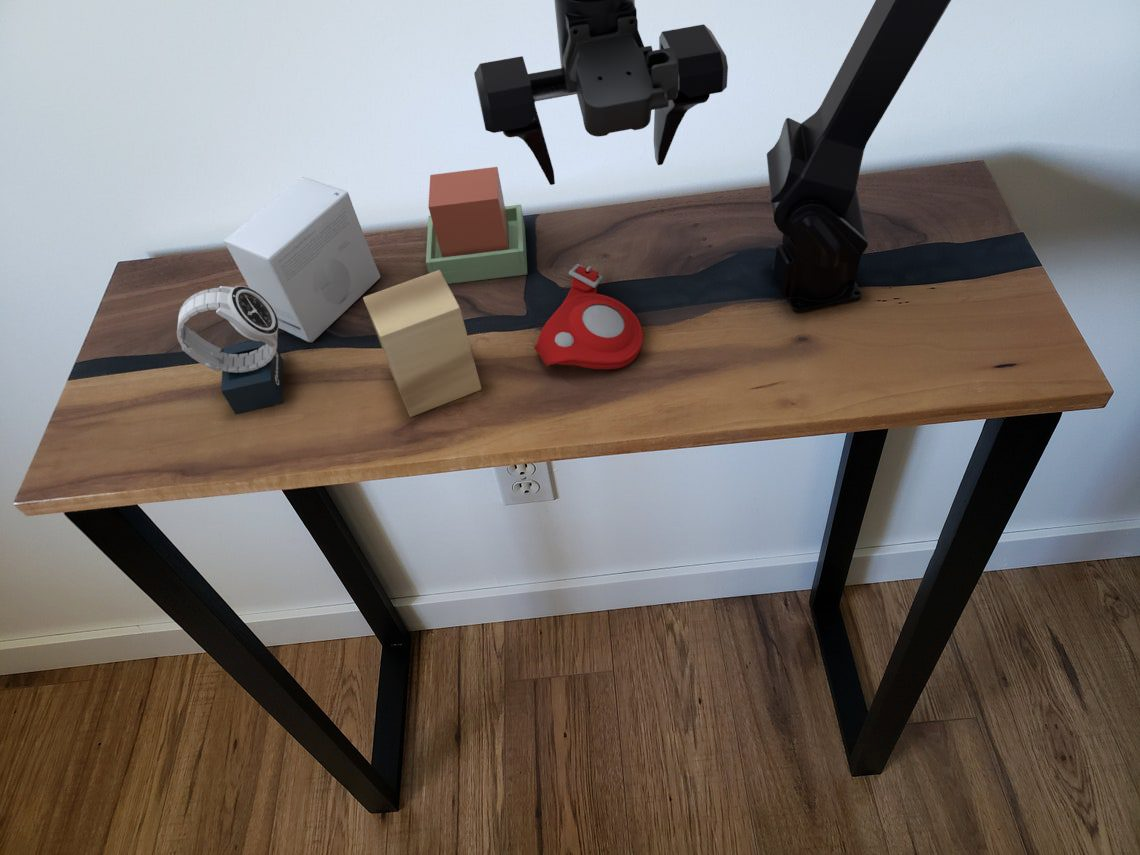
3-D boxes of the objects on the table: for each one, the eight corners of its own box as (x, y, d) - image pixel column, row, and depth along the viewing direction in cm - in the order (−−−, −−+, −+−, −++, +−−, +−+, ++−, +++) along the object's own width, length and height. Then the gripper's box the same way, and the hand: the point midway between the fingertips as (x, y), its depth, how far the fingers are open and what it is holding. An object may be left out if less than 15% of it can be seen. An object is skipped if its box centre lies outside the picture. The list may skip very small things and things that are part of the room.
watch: (304, 398, 78) (259, 309, 69) (215, 418, 77) (158, 331, 69) (303, 354, 81) (260, 264, 73) (218, 373, 81) (164, 285, 72)
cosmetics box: (335, 259, 90) (301, 173, 82) (382, 278, 87) (351, 191, 79) (263, 322, 85) (219, 238, 76) (311, 345, 82) (270, 259, 74)
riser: (482, 389, 76) (460, 307, 69) (410, 417, 75) (379, 336, 67) (462, 352, 80) (439, 269, 72) (393, 378, 78) (362, 296, 71)
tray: (525, 228, 90) (521, 204, 88) (527, 274, 85) (523, 250, 83) (434, 238, 90) (428, 215, 88) (432, 285, 86) (425, 262, 83)
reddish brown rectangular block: (509, 257, 85) (498, 198, 79) (444, 265, 85) (428, 206, 80) (508, 225, 88) (497, 166, 83) (445, 233, 88) (430, 174, 83)
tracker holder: (668, 339, 76) (575, 372, 72) (652, 369, 80) (563, 403, 75) (595, 245, 81) (504, 270, 76) (584, 277, 85) (495, 304, 80)
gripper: (474, 62, 55) (509, 253, 67) (758, 12, 56) (742, 209, 68) (457, -15, 62) (491, 171, 74) (710, -58, 63) (703, 132, 75)
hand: (605, 172), depth 73 cm, fingers open, 9 cm apart
